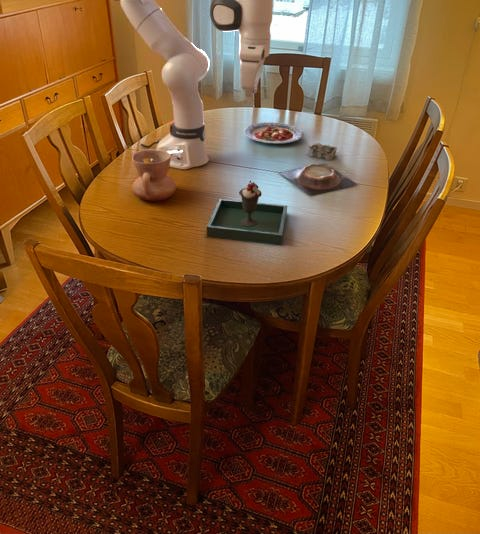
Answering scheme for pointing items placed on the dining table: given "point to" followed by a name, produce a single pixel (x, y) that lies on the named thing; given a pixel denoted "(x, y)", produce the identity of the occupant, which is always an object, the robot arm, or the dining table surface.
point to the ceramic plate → (273, 132)
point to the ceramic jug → (153, 175)
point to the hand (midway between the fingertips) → (251, 97)
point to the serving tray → (230, 227)
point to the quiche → (318, 178)
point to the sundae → (249, 202)
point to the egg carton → (322, 151)
